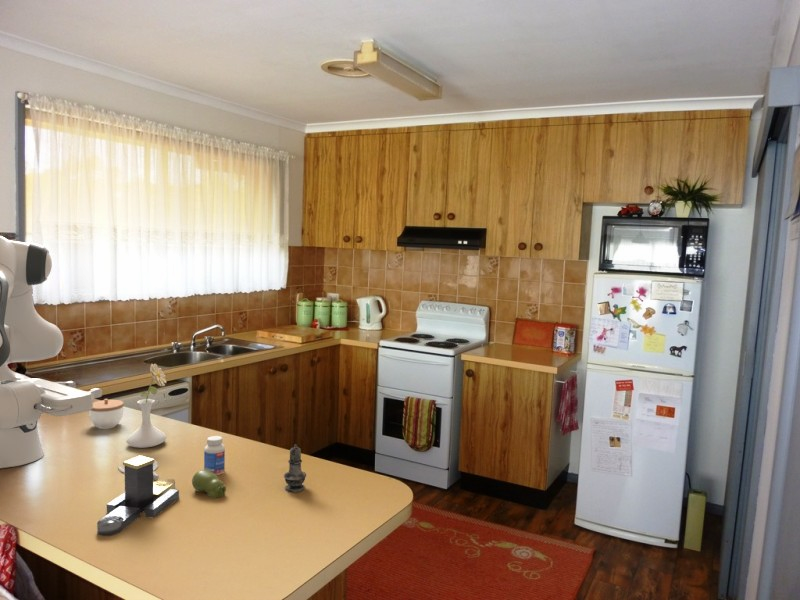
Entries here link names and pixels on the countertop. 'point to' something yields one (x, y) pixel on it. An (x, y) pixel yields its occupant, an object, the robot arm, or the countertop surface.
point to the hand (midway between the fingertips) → (86, 388)
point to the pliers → (155, 465)
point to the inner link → (162, 487)
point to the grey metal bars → (131, 513)
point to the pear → (208, 483)
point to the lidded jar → (106, 413)
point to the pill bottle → (214, 455)
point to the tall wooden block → (139, 482)
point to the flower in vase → (148, 416)
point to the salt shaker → (295, 472)
